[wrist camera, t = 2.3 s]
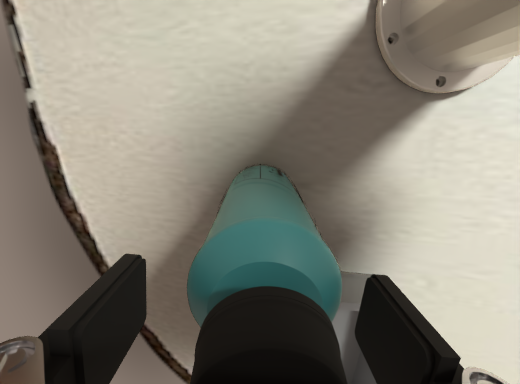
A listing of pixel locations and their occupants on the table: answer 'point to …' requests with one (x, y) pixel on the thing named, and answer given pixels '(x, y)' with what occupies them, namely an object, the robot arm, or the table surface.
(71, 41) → the table surface
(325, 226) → the table surface
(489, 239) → the table surface
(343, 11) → the table surface
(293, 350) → the beverage bottle
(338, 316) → the bin
